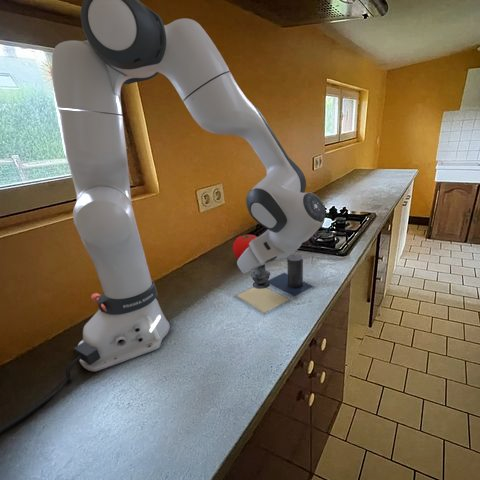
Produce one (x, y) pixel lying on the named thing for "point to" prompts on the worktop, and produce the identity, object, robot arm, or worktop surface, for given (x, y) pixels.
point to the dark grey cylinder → (295, 271)
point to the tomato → (242, 244)
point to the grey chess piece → (260, 277)
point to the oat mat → (262, 298)
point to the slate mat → (282, 284)
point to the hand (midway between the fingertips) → (258, 264)
